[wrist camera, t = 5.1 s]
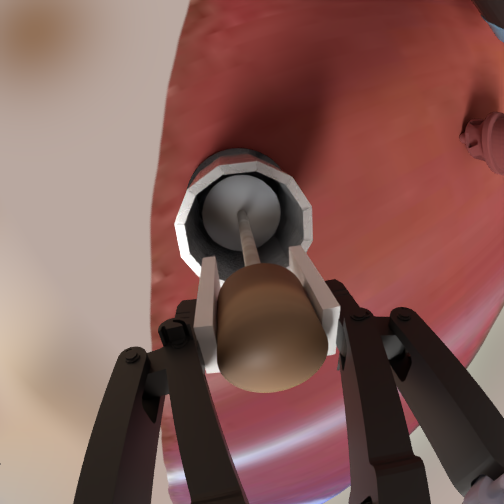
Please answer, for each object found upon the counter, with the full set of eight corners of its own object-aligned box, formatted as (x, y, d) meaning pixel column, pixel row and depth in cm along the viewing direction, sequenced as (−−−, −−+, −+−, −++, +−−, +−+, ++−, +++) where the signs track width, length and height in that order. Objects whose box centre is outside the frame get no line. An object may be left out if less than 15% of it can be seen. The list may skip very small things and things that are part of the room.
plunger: (197, 180, 28) (142, 282, 9) (276, 170, 28) (381, 251, 9) (209, 252, 31) (196, 420, 12) (281, 243, 31) (355, 395, 12)
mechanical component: (470, 99, 31) (490, 145, 34) (444, 129, 33) (467, 176, 36) (522, 103, 20) (539, 157, 23) (501, 138, 22) (518, 195, 25)
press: (179, 155, 32) (156, 166, 21) (285, 143, 33) (316, 148, 21) (199, 270, 39) (190, 326, 27) (292, 258, 39) (318, 309, 28)
